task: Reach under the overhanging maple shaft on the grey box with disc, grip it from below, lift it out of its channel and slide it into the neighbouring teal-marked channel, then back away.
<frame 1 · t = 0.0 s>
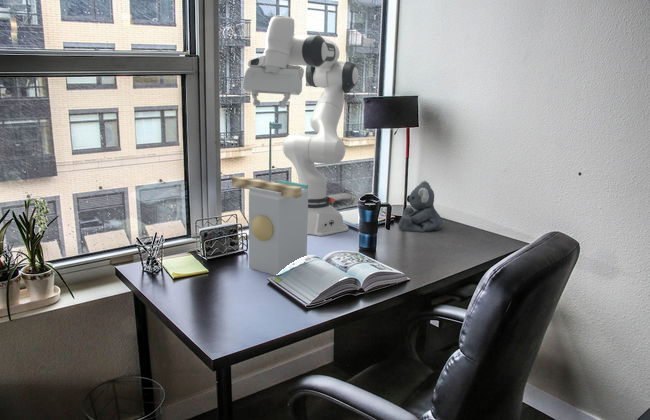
hand: (268, 106, 175), 52 cm above the table, tool tilted 20°, fingers open, 8 cm apart
koala plush: (420, 228, 230), on the table
maple shaft: (265, 191, 172), point 26 cm above the table, touching grey box with disc
grey box with disc: (278, 265, 182), on the table
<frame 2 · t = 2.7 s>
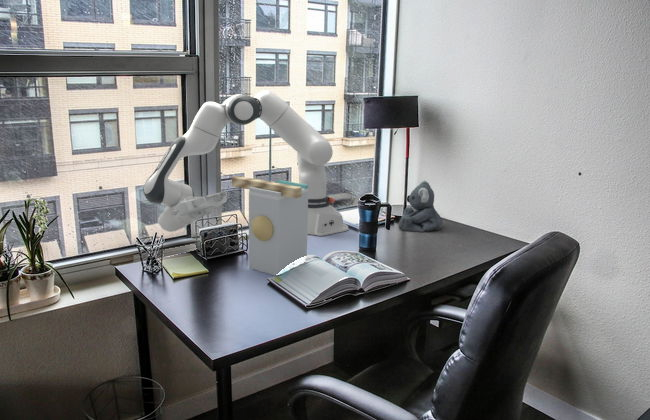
hand: (215, 195, 185), 21 cm above the table, tool pointing upward, fingers open, 8 cm apart
nothing on the table moved.
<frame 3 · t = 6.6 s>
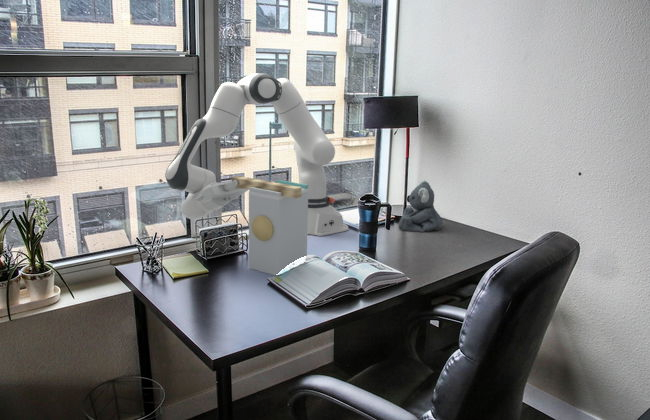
hand: (242, 180, 177), 28 cm above the table, tool pointing upward, fingers closed on maple shaft, 3 cm apart
maple shaft: (265, 191, 172), point 26 cm above the table, touching grey box with disc, gripper
everything else where it was.
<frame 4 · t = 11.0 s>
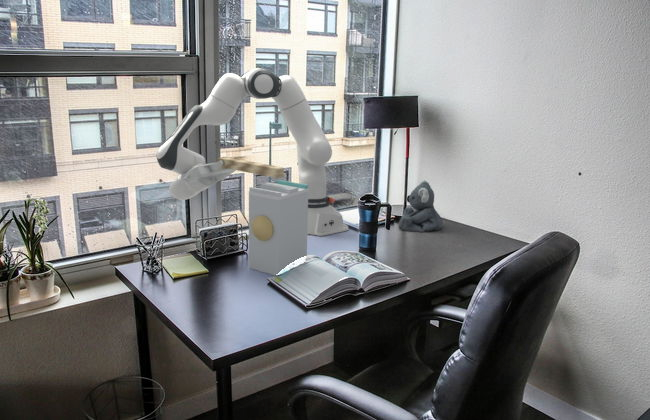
hand: (227, 161, 184), 33 cm above the table, tool pointing upward, fingers closed on maple shaft, 3 cm apart
maple shaft: (249, 171, 179), point 31 cm above the table, touching gripper
everything else where it was.
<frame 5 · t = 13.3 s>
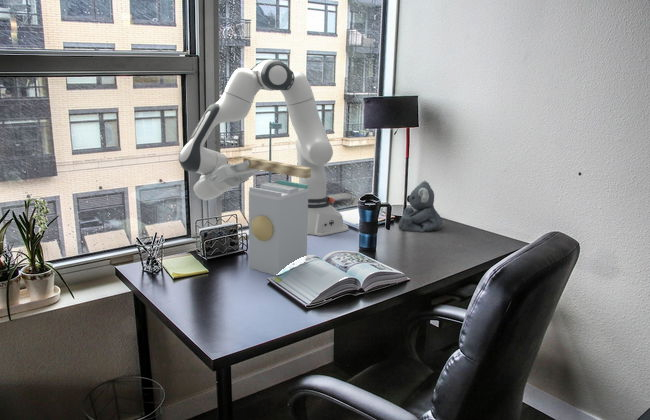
hand: (253, 161, 184), 33 cm above the table, tool pointing upward, fingers closed on maple shaft, 3 cm apart
maple shaft: (275, 171, 180), point 31 cm above the table, touching gripper
everything else where it was.
when the fingers open (29 cm above the table, at t = 15.3 s): maple shaft drops 1 cm, resting on grey box with disc.
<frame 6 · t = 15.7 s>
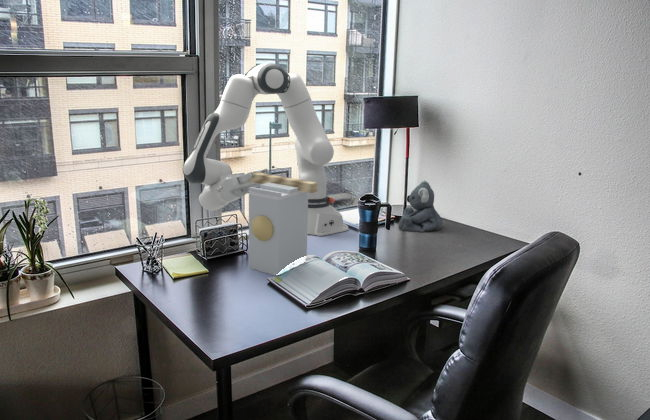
hand: (259, 172, 184), 29 cm above the table, tool pointing upward, fingers open, 7 cm apart
maple shaft: (282, 186, 180), point 26 cm above the table, touching grey box with disc
everything else where it was.
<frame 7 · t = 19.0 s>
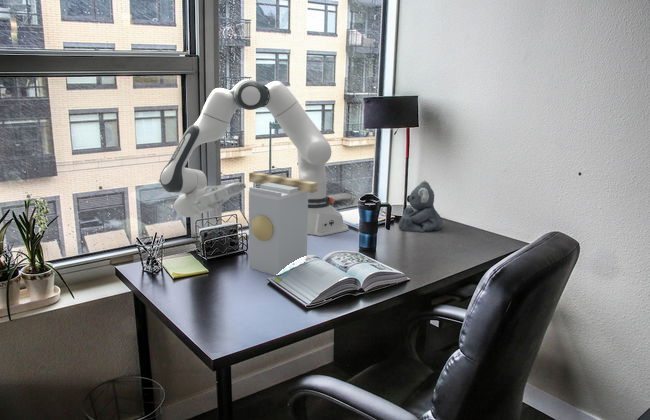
hand: (236, 188, 192), 22 cm above the table, tool pointing upward, fingers open, 8 cm apart
nothing on the table moved.
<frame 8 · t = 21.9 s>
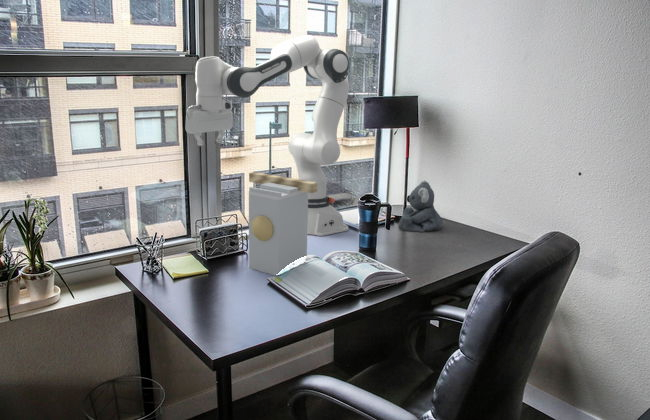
hand: (210, 144, 191), 37 cm above the table, tool pointing down, fingers open, 8 cm apart
nothing on the table moved.
at the end: maple shaft 0.1 cm from the target spot on the grey box with disc, point 26.0 cm above the grey box with disc's base; maple shaft tilted 0°; the gripper is holding nothing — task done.
